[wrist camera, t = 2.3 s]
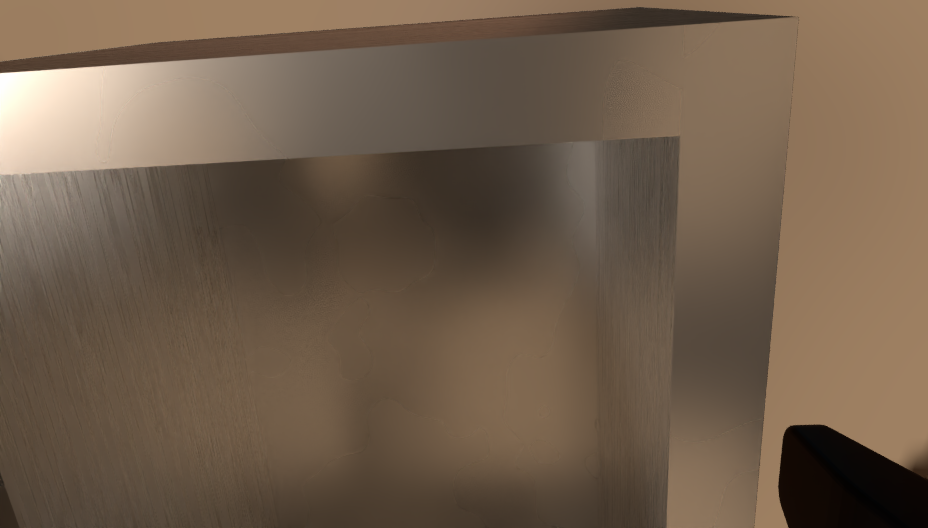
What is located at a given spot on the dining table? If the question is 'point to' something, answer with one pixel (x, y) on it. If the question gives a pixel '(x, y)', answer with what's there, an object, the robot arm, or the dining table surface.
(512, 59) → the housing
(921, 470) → the dining table surface
